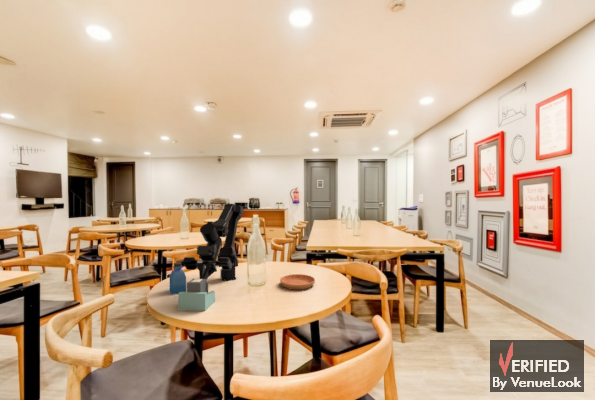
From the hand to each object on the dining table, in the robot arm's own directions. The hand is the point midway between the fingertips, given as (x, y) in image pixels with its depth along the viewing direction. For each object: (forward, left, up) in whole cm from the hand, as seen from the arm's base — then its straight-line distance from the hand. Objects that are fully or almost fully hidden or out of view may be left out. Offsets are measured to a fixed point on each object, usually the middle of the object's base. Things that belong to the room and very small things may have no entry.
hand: (201, 283), depth 98 cm
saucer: (-42, -3, -8) cm, 43 cm away
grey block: (+2, +3, -7) cm, 8 cm away
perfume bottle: (+8, -18, -8) cm, 21 cm away
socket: (+1, +2, -7) cm, 8 cm away
